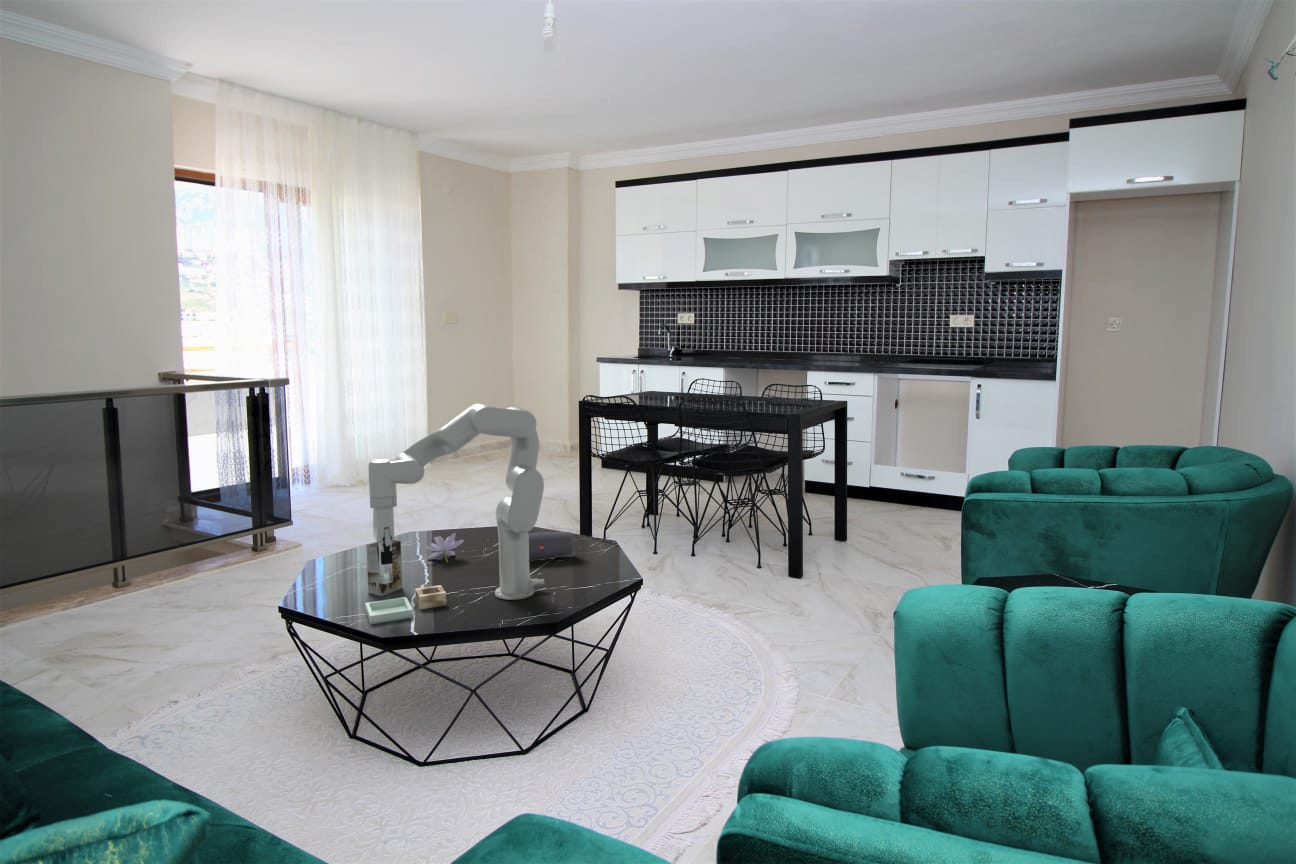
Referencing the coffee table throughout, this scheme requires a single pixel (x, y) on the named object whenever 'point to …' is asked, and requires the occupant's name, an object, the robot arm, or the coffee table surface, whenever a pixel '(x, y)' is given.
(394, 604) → the tray
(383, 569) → the pin
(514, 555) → the robot arm
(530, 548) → the bluetooth speaker
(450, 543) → the water lily
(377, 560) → the brown cookie box
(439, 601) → the socket block
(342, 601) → the coffee table surface
